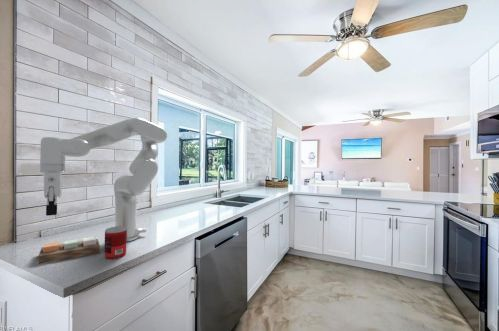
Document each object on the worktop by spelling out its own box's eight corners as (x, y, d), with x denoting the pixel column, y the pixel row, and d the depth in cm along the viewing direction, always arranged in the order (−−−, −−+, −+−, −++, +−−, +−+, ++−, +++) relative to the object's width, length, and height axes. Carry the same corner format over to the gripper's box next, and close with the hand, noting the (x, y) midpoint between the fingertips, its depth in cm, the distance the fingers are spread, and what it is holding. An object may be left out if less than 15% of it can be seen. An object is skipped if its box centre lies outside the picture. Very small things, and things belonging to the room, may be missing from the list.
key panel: (97, 245, 104) (97, 238, 104) (99, 252, 96) (99, 245, 96) (41, 254, 93) (41, 247, 93) (38, 264, 84) (38, 256, 84)
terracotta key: (59, 249, 93) (59, 241, 93) (58, 252, 90) (58, 245, 90) (44, 251, 91) (44, 244, 91) (42, 255, 87) (43, 247, 87)
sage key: (78, 246, 97) (78, 239, 97) (78, 249, 94) (78, 242, 94) (64, 248, 94) (64, 241, 94) (63, 251, 91) (63, 244, 91)
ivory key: (95, 243, 101) (95, 236, 101) (96, 246, 97) (96, 239, 97) (82, 245, 98) (82, 238, 98) (83, 248, 95) (83, 241, 95)
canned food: (129, 251, 98) (130, 226, 98) (119, 259, 90) (120, 231, 90) (111, 251, 97) (112, 225, 97) (100, 259, 89) (100, 231, 89)
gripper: (64, 169, 86) (63, 217, 86) (65, 168, 98) (64, 210, 98) (37, 169, 82) (36, 220, 82) (42, 168, 94) (40, 212, 94)
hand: (51, 214), depth 90 cm, fingers closed
